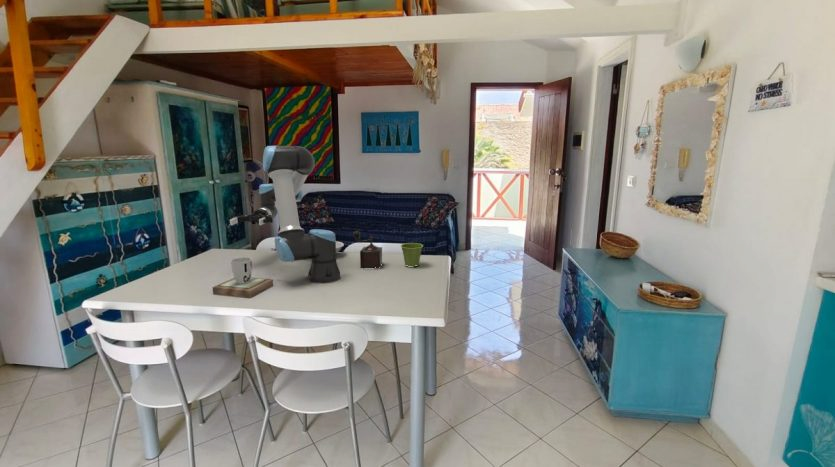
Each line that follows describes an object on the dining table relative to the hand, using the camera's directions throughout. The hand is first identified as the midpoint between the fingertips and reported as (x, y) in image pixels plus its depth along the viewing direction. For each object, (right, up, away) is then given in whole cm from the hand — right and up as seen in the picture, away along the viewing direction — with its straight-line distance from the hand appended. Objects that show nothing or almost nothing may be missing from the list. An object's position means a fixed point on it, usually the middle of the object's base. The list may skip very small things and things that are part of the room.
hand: (245, 222), depth 187 cm
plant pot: (+79, -23, +23) cm, 85 cm away
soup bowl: (+27, -18, +42) cm, 53 cm away
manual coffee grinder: (+55, -23, +23) cm, 63 cm away
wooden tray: (+6, -30, -15) cm, 34 cm away
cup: (+6, -26, -16) cm, 32 cm away
